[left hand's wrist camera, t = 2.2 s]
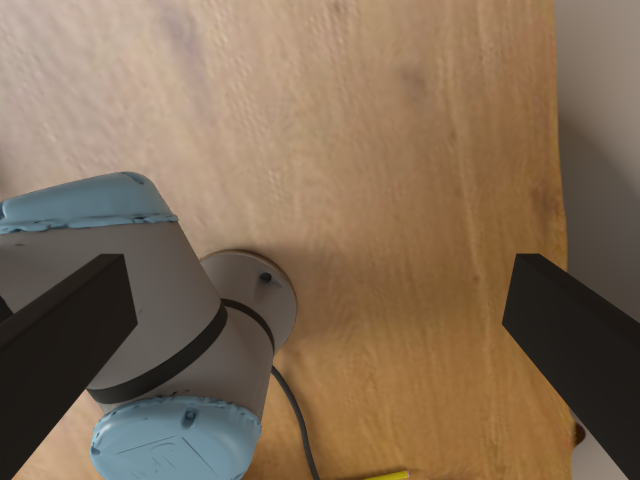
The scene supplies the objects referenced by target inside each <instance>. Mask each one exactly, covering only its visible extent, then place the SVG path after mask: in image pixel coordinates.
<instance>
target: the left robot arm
mask: <svg viewBox="0 0 640 480" xmlns="http://www.w3.org/2000/svg"><path fill="white" fill-rule="evenodd" d="M178 221H179V219H178V217H177V216H176V215H175V214H173V213H172V212H171V210H170V209H169V207H168V205H167V204H166V202H165V201H164V199H163V198H162V196H161V195H160V193H159V192H158V190H157V188H156V187H155V185H154V184H153V183H152V182H151V181H150V180H149V179H148V178H147V177H145V176H143V175H141V174H138V173H134V172H117V173H111V174H106V175H101V176H96V177H91V178H86V179H82V180H78V181H74V182H69V183H65V184H61V185H57V186H53V187H49V188H46V189H42V190H38V191H35V192H31V193H27V194H24V195H20V196H17V197H14V198H10V199H7V200H6V201H4V202H0V480H11V479H12V478H13V477H14V476H15V474H16V473H17V472H18V471H19V469H20V468H21V467H22V466H23V465H24V463H25V462H26V461H27V460H28V458H29V457H30V456H31V455H32V454H33V452H34V451H35V450H36V449H37V447H38V446H39V445H40V444H41V443H42V441H43V440H44V439H45V438H46V436H47V435H48V434H49V433H50V431H51V430H52V429H53V428H54V427H55V425H56V424H57V423H58V422H59V420H60V419H61V418H62V417H63V416H64V414H65V413H66V412H67V411H68V409H69V408H70V407H71V406H72V405H73V403H74V402H75V401H76V400H77V398H78V397H79V396H80V395H81V394H82V392H83V391H84V390H85V389H86V390H87V391H88V392H89V394H90V395H91V396H92V397H93V399H94V400H95V401H96V403H97V404H98V405H99V406H100V408H101V409H102V410H103V412H104V416H103V417H102V418H101V419H100V420H99V421H98V423H97V424H96V426H95V427H94V430H93V436H92V439H91V444H92V445H91V447H90V451H89V452H90V458H91V461H92V463H93V465H94V467H95V468H96V470H97V471H98V473H99V474H100V475H101V476H102V477H103V478H104V479H105V480H240V479H241V478H242V477H243V475H244V474H245V472H246V471H247V469H248V467H249V465H250V463H251V461H252V457H253V454H254V451H255V447H256V444H257V441H258V439H259V437H260V435H261V428H262V426H261V420H262V415H263V409H264V404H265V399H266V394H267V389H268V384H269V378H270V373H272V374H273V375H274V376H275V378H276V379H277V381H278V382H279V384H280V385H281V387H282V388H283V390H284V392H285V393H286V395H287V397H288V399H289V401H290V403H291V405H292V407H293V409H294V411H295V414H296V416H297V419H298V422H299V425H300V428H301V432H302V437H303V443H304V448H305V452H306V456H307V459H308V463H309V466H310V469H311V472H312V475H313V478H314V480H320V479H319V477H318V474H317V471H316V468H315V465H314V461H313V458H312V455H311V451H310V447H309V442H308V436H307V431H306V426H305V423H304V419H303V416H302V414H301V411H300V409H299V407H298V404H297V402H296V400H295V398H294V396H293V394H292V392H291V391H290V389H289V387H288V385H287V384H286V382H285V381H284V379H283V377H282V376H281V374H280V373H279V372H278V371H277V370H276V369H275V368H274V366H273V365H272V363H273V357H274V356H275V354H276V353H277V352H278V350H279V349H280V348H281V346H282V345H283V344H284V343H285V342H286V340H287V339H288V337H289V336H290V334H291V332H292V329H293V327H294V324H295V320H296V314H297V298H296V293H295V290H294V288H293V285H292V283H291V281H290V280H289V278H288V277H287V275H286V274H285V273H284V272H283V271H282V270H281V269H280V268H279V267H278V266H277V265H276V264H274V263H273V262H272V261H270V260H268V259H267V258H265V257H263V256H260V255H258V254H255V253H252V252H248V251H242V250H224V251H219V252H215V253H212V254H209V255H207V256H205V257H203V258H202V259H200V260H198V258H197V256H196V254H195V253H194V251H193V249H192V247H191V245H190V243H189V242H188V240H187V238H186V236H185V234H184V232H183V231H182V229H181V227H180V225H179V223H178ZM502 325H503V326H504V327H505V329H506V330H507V331H508V332H509V334H510V335H511V336H512V337H513V338H514V340H515V341H516V342H517V343H518V345H519V346H520V347H521V348H522V349H523V351H524V352H525V353H526V354H527V356H528V357H529V358H530V359H531V360H532V362H533V363H534V364H535V365H536V367H537V368H538V369H539V370H540V371H541V373H542V374H543V375H544V376H545V378H546V379H547V380H548V381H549V383H550V384H551V385H552V386H553V387H554V389H555V390H556V391H557V392H558V394H559V395H560V396H561V397H562V398H563V400H564V401H565V402H566V403H567V405H568V406H569V407H570V408H571V409H572V411H573V412H574V413H575V414H576V416H577V417H578V418H579V419H580V420H581V422H582V423H583V424H584V425H585V427H586V428H587V429H588V430H589V431H590V433H591V434H592V435H593V436H594V438H595V439H596V440H597V441H598V442H599V444H600V445H601V446H602V447H603V449H604V450H605V451H606V452H607V453H608V455H609V456H610V457H611V458H612V460H613V461H614V462H615V463H616V465H617V466H618V467H619V468H620V469H621V471H622V472H623V473H624V474H625V476H626V477H627V478H628V479H629V480H640V323H638V322H637V321H635V320H634V319H633V318H631V317H630V316H628V315H627V314H625V313H624V312H622V311H621V310H620V309H618V308H617V307H615V306H614V305H612V304H611V303H609V302H608V301H607V300H605V299H604V298H602V297H601V296H599V295H598V294H597V293H595V292H594V291H592V290H591V289H589V288H588V287H586V286H585V285H583V284H582V283H581V282H579V281H578V280H576V279H575V278H574V277H572V276H571V275H569V274H568V273H566V272H565V271H563V270H562V269H561V268H559V267H558V266H556V265H555V264H553V263H552V262H551V261H549V260H548V259H546V258H545V257H543V256H542V255H540V254H516V258H515V262H514V267H513V272H512V277H511V282H510V287H509V291H508V296H507V301H506V306H505V311H504V316H503V321H502Z"/></svg>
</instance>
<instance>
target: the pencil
mask: <svg viewBox="0 0 640 480" xmlns="http://www.w3.org/2000/svg"><path fill="white" fill-rule="evenodd" d="M409 477H410V474H409V471H408V470H405V471H401V472H396V473H391V474H386V475H381V476H376V477H372V478H367V479H362V480H399V479H404V478H409Z"/></svg>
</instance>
